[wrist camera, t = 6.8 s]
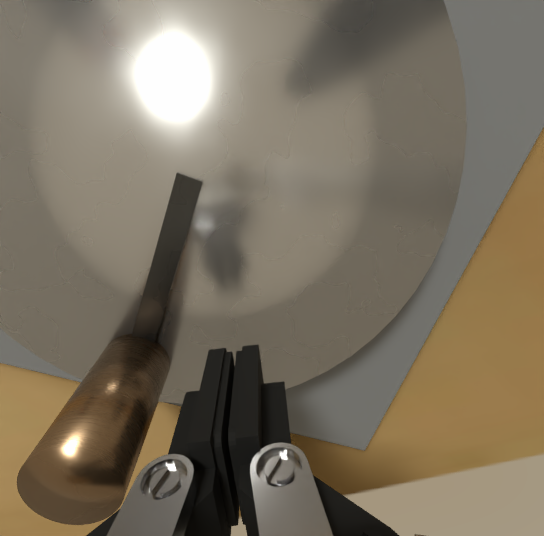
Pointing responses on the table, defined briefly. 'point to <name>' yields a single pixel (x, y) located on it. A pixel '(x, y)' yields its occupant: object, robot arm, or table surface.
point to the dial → (210, 200)
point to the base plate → (460, 234)
